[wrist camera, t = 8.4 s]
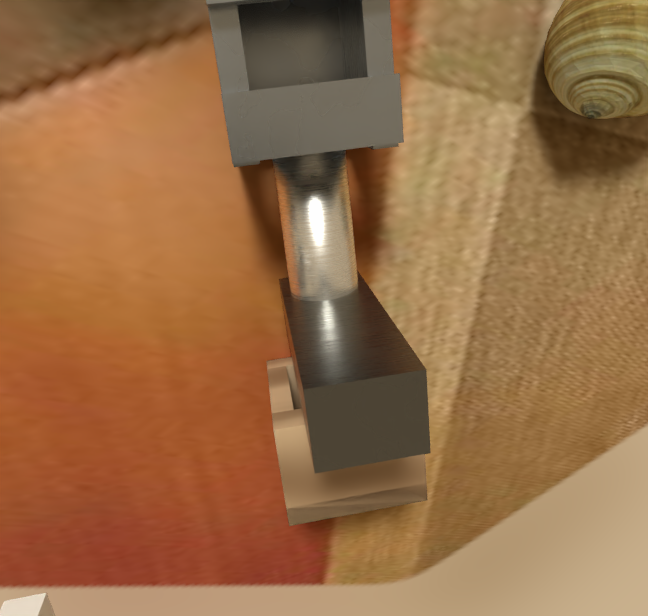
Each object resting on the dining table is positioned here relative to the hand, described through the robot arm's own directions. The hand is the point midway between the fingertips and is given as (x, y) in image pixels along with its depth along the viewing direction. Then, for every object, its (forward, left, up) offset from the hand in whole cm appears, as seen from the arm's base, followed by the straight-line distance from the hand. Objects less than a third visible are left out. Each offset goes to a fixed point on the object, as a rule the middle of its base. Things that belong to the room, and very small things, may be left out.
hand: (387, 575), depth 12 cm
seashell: (+17, +11, -20) cm, 28 cm away
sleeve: (+1, +12, -19) cm, 23 cm away
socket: (+1, -6, -19) cm, 20 cm away
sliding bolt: (+1, 0, -19) cm, 19 cm away
